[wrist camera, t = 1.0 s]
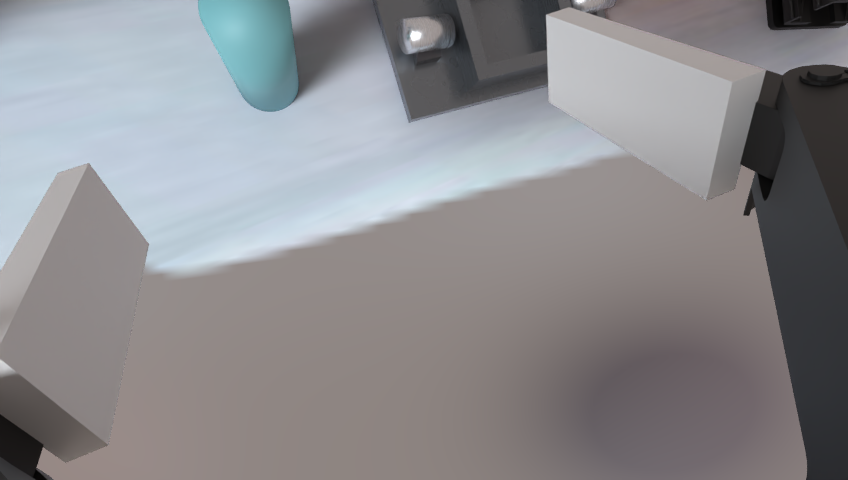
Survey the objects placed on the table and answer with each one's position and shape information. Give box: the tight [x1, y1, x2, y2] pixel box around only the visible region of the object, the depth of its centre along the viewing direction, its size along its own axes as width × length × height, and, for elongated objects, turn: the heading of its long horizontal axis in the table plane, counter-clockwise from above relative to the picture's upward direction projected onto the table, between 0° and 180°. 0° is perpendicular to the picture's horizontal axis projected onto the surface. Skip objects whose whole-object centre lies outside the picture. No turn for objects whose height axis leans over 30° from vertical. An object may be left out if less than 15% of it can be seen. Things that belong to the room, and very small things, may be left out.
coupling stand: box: [373, 0, 616, 122], centre depth 38 cm, size 19×11×4 cm, turn 107°
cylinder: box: [198, 0, 299, 112], centre depth 30 cm, size 4×4×12 cm
